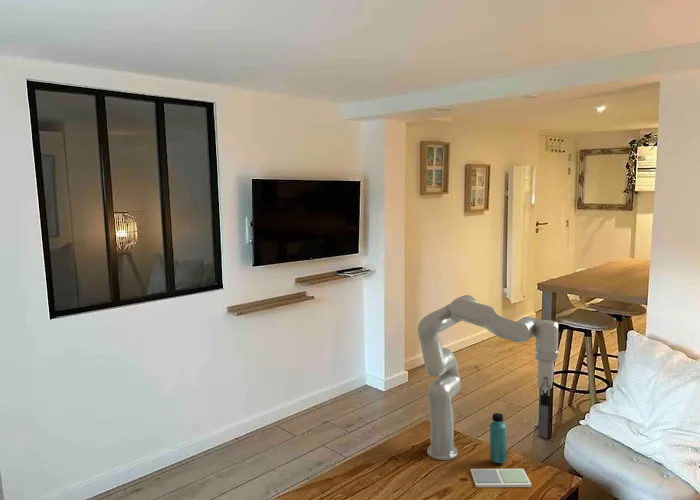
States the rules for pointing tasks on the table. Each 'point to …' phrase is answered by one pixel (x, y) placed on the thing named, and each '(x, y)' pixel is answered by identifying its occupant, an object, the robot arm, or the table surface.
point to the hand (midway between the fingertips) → (545, 400)
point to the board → (500, 478)
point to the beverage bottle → (498, 439)
